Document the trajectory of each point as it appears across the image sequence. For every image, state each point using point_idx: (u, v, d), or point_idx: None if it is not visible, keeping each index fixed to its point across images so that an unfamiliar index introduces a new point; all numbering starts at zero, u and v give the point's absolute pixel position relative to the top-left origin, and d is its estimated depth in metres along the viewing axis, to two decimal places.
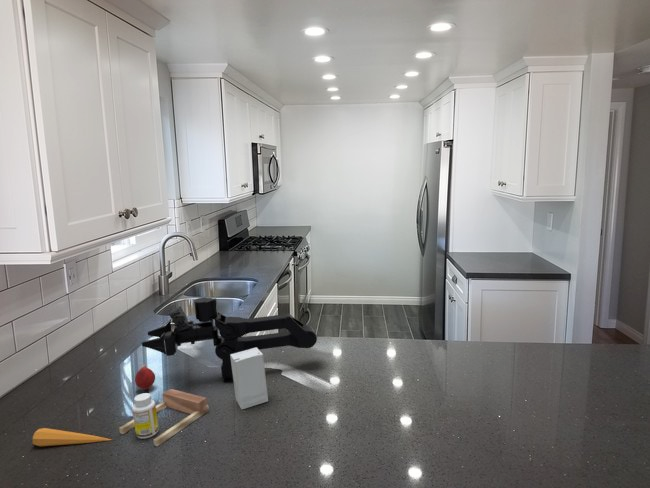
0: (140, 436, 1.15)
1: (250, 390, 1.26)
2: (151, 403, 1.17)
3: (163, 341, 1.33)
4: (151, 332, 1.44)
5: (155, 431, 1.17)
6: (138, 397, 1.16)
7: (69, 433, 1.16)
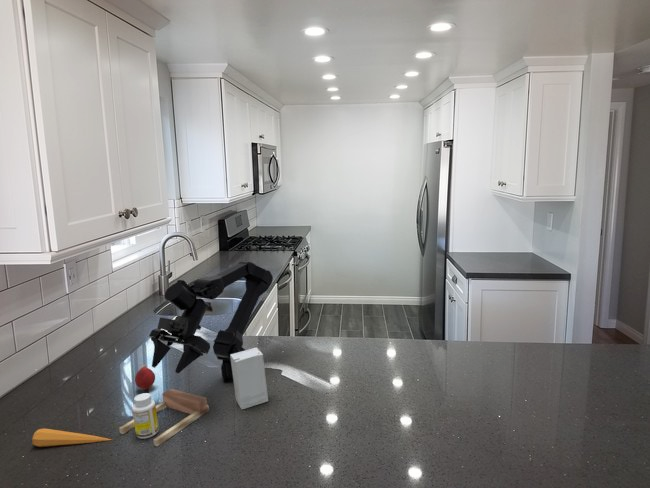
0: (140, 436, 1.15)
1: (250, 390, 1.26)
2: (151, 403, 1.17)
3: (194, 349, 1.21)
4: (155, 362, 1.25)
5: (155, 431, 1.17)
6: (138, 397, 1.16)
7: (69, 433, 1.16)
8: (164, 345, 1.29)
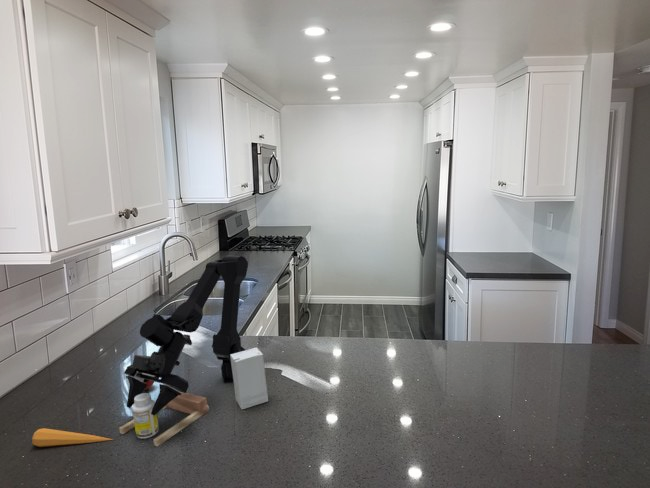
0: (140, 436, 1.15)
1: (250, 390, 1.26)
2: (151, 403, 1.17)
3: (171, 389, 1.14)
4: (130, 402, 1.18)
5: (155, 431, 1.17)
6: (138, 397, 1.16)
7: (69, 433, 1.15)
8: (140, 383, 1.22)
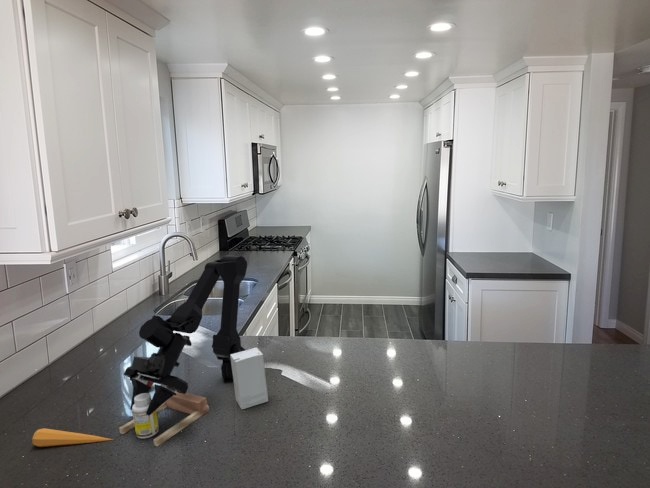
0: (140, 436, 1.15)
1: (250, 390, 1.26)
2: None
3: (166, 389, 1.15)
4: None
5: (155, 431, 1.17)
6: (138, 396, 1.16)
7: (69, 433, 1.16)
8: (144, 385, 1.21)
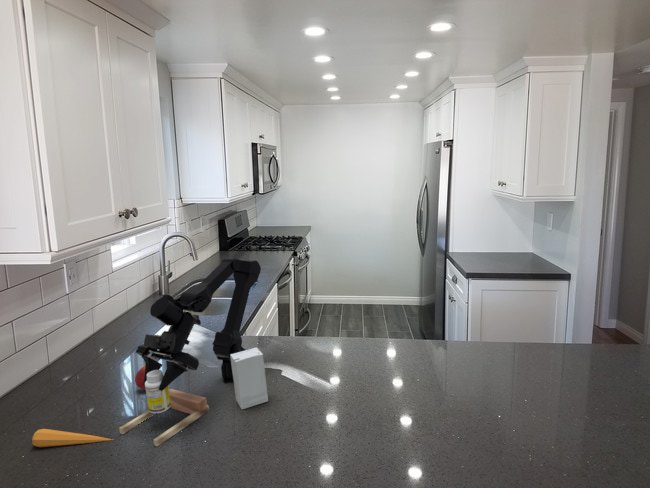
0: (153, 411, 1.18)
1: (250, 390, 1.26)
2: None
3: (178, 365, 1.18)
4: None
5: (167, 406, 1.20)
6: (150, 373, 1.19)
7: (69, 433, 1.15)
8: (155, 362, 1.24)
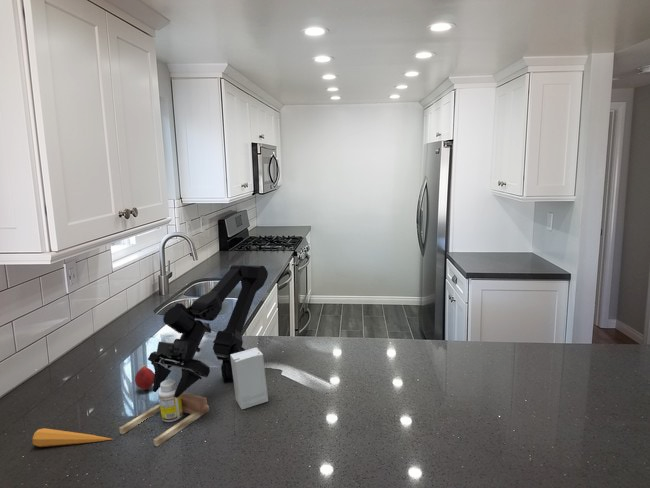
0: (166, 420, 1.22)
1: (250, 390, 1.26)
2: (176, 388, 1.24)
3: (193, 373, 1.21)
4: (155, 387, 1.25)
5: (180, 415, 1.24)
6: (164, 382, 1.23)
7: (69, 433, 1.15)
8: (164, 368, 1.28)
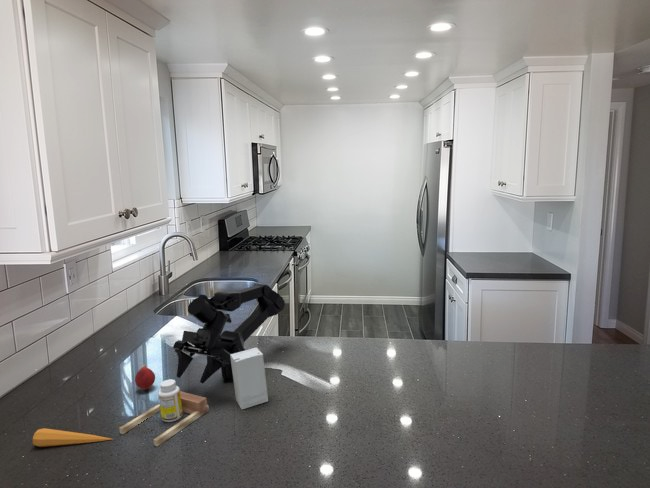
0: (166, 420, 1.22)
1: (250, 390, 1.26)
2: (176, 388, 1.23)
3: (217, 360, 1.28)
4: (179, 373, 1.33)
5: (180, 415, 1.24)
6: (163, 383, 1.23)
7: (69, 433, 1.15)
8: (187, 356, 1.36)
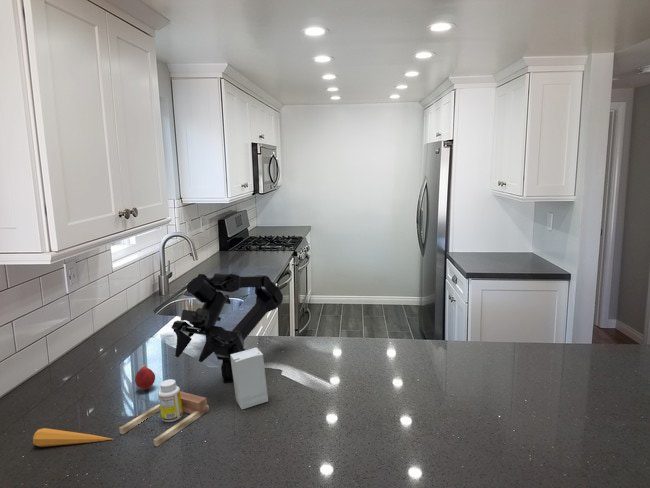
0: (166, 420, 1.22)
1: (250, 390, 1.26)
2: (176, 388, 1.23)
3: (216, 339, 1.28)
4: (178, 352, 1.32)
5: (180, 415, 1.24)
6: (164, 382, 1.23)
7: (70, 433, 1.16)
8: (186, 336, 1.35)
